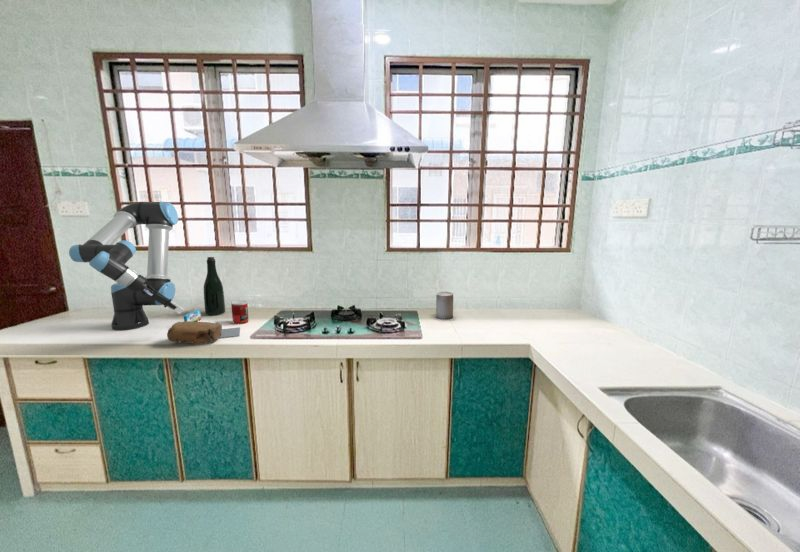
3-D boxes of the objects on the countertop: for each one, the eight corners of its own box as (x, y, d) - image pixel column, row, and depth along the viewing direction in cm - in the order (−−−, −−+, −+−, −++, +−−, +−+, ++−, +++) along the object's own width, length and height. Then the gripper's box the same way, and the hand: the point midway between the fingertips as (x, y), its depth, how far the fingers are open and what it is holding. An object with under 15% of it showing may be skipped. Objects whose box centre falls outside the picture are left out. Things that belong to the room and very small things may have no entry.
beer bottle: (229, 312, 202) (224, 256, 197) (211, 317, 194) (206, 258, 188) (219, 310, 208) (214, 255, 202) (201, 314, 199) (196, 257, 193)
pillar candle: (452, 314, 202) (453, 289, 200) (453, 319, 193) (453, 293, 190) (435, 314, 203) (436, 289, 201) (435, 319, 194) (436, 292, 191)
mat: (185, 333, 166) (185, 333, 166) (240, 328, 176) (240, 327, 176) (180, 343, 155) (180, 342, 155) (239, 336, 164) (239, 335, 164)
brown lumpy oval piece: (179, 319, 161) (223, 321, 161) (181, 334, 162) (224, 336, 163) (164, 328, 150) (210, 330, 150) (166, 344, 152) (212, 346, 152)
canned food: (242, 324, 181) (241, 304, 179) (229, 323, 182) (227, 303, 180) (251, 320, 188) (250, 300, 186) (238, 319, 190) (237, 300, 188)
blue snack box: (187, 327, 176) (186, 315, 175) (184, 327, 176) (183, 315, 175) (201, 320, 188) (200, 309, 187) (198, 320, 188) (197, 309, 187)
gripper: (125, 284, 152) (174, 314, 165) (124, 290, 142) (177, 321, 155) (138, 271, 154) (186, 302, 167) (139, 276, 144) (189, 308, 157)
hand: (181, 311), depth 161 cm, fingers closed
